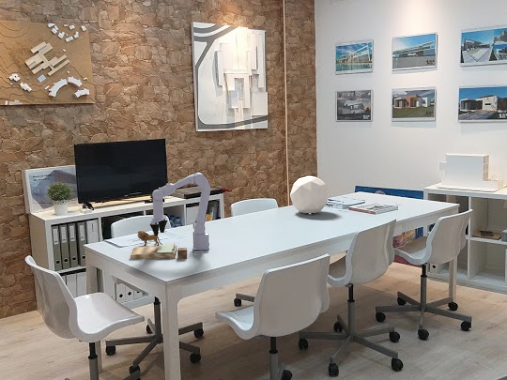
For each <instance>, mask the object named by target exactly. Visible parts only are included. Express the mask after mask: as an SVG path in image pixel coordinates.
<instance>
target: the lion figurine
mask: <svg viewBox="0 0 507 380" xmlns="http://www.w3.org/2000/svg"><path fill="white" fill-rule="evenodd" d="M137 237H138V239H139V240H141V241H142V242H144V243H143V247H147V245H148V242H151V241H154V242H155V243H154V244H153V245H154V246H159V245H164V244H163V243H161V241H160V238H159V235H158V236H154V234H148V232H145V231H144V230H140V231H137Z"/></svg>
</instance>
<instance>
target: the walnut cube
mask: <svg viewBox="0 0 507 380" xmlns="http://www.w3.org/2000/svg"><path fill="white" fill-rule="evenodd" d="M176 253H177V260H185V259H186V260H187V259H188V247H177V252H176Z"/></svg>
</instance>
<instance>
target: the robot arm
mask: <svg viewBox="0 0 507 380" xmlns="http://www.w3.org/2000/svg"><path fill="white" fill-rule="evenodd" d="M188 184H193V185H194V184H196V185H197V186H198V187H200V189H201V193H200V199H199V204H198V209H197V213H196V217H195V221H194V222H193V223H192V228H193V230H194V231H193V232H192V249H191V250H192V251H197V250H198V251H203V250H204V251H206V250H210V239H209V238H210V235H209V232H208V233H207V232H206V226H205V225H206V214H207V210H208V205H209V199H210V194H211V191H212V190H211V185H210V184H209V180H208V179H207V177H205V175H204V174H203V173H202V172H195V173H192V174H190V175H187V176H186V177H183V178H182V179H180V180H178V181H176V182H175V183H166V184H165V185H164V186H161V187H158V188H157V189H154V190H153V192H152V194H151V195H152V196H151V197H152V211H153V212H152V215H153V216H152V218H151V220H150V224H149V226H150V227H151V228H150V229H151V230H152V232H153V235H154V236H158V237H159V233H160V234H161V233H163V234H164V233H165V230H166V227H167V226H166V225H167V223H168V220H167V216H166V215H164V202H163V198H166V197H168V196H170V195H172V194H174V193H176V190H177V189H180V188H181V187H184V186H185V185H188Z"/></svg>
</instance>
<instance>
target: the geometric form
mask: <svg viewBox="0 0 507 380" xmlns="http://www.w3.org/2000/svg"><path fill="white" fill-rule="evenodd" d="M289 197H290V199H291V203H292V206H293V208H295V209H296V210H297V211H298V212H299V213H303V214H306V213H314V214H316V213H321V211H322V210H323V209H324V208H325V207H326V205H327V204H328V200H329V197H330V193H329V189H328V187H327V184H326V182H325V181H323V180H322V179H320V178H319V177H317V176H314V175H313V176H312V175H306V176H303V177H300V178H298V179H297V180H296V181H295V182H294V183H293V185H292V188H291V191H290V194H289Z"/></svg>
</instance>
